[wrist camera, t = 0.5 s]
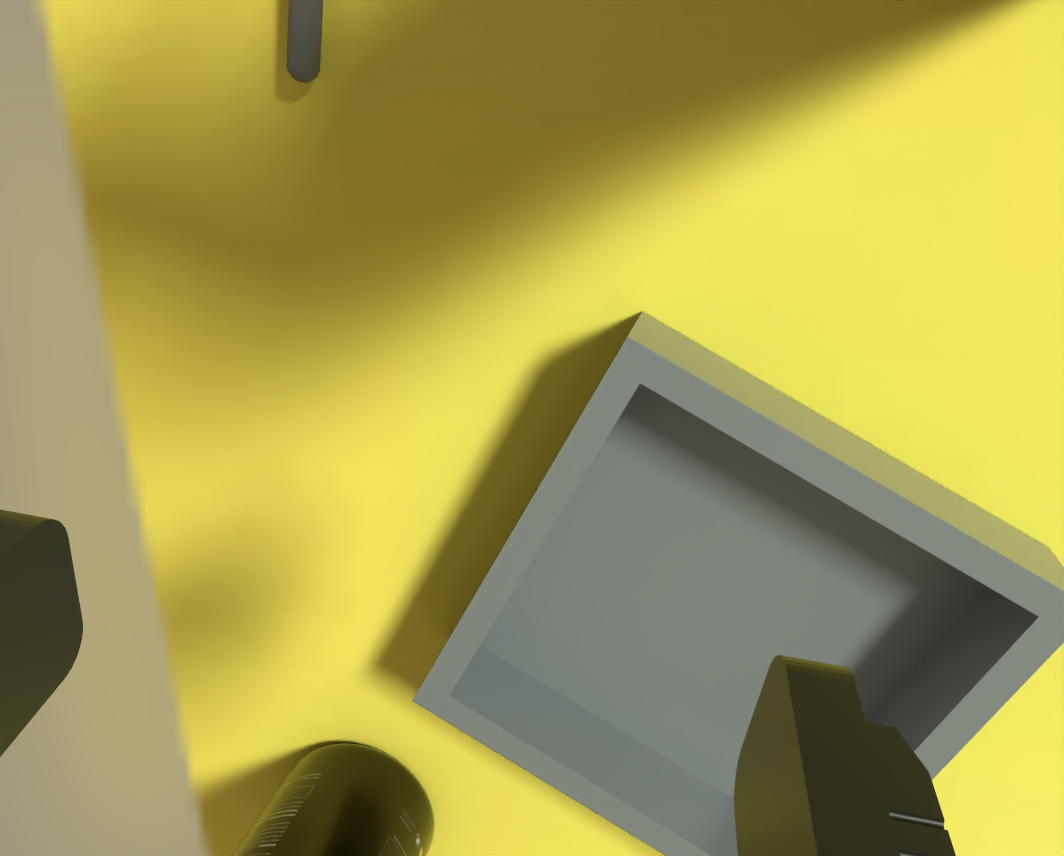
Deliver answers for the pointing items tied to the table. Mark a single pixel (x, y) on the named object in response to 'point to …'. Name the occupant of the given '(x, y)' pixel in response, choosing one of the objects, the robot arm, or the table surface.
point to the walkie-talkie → (304, 39)
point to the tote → (729, 596)
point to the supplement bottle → (344, 808)
